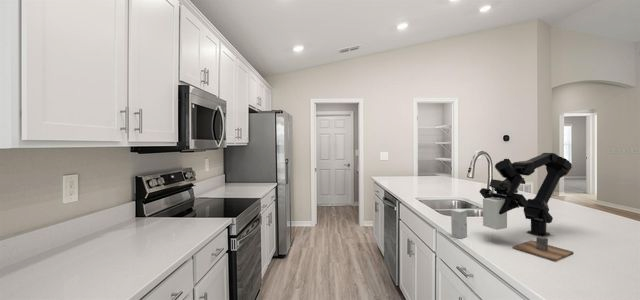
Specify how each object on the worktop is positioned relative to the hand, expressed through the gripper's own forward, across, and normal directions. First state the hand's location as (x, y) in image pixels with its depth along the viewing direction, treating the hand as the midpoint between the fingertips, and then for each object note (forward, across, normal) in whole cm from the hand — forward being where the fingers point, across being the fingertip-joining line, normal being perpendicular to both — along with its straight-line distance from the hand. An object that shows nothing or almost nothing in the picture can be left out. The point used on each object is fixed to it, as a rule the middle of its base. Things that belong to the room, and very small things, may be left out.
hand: (492, 212), depth 116 cm
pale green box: (+4, 0, +6) cm, 7 cm away
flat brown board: (+3, +14, +15) cm, 21 cm away
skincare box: (+14, -11, +4) cm, 19 cm away
